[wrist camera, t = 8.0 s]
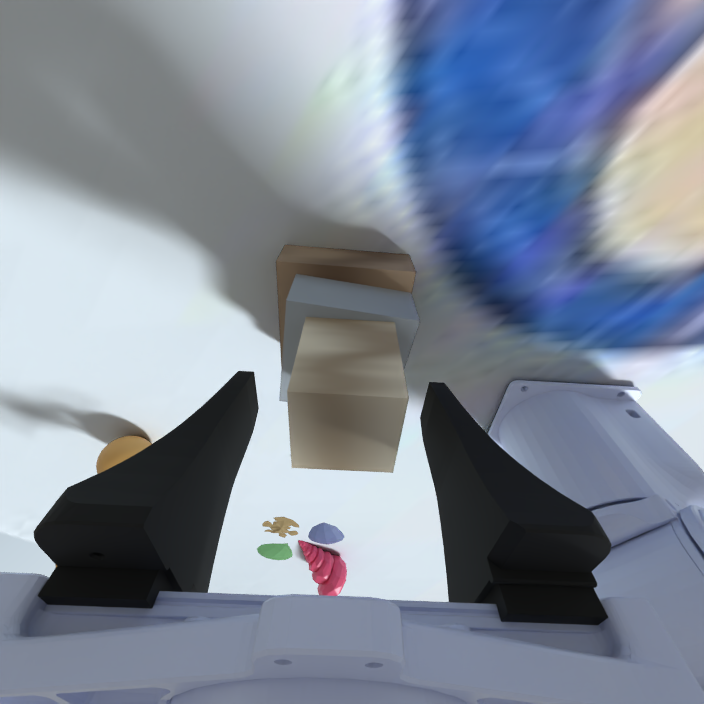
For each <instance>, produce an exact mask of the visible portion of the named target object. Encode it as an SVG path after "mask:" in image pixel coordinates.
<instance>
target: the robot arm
mask: <svg viewBox="0 0 704 704" xmlns="http://www.w3.org/2000/svg"><path fill="white" fill-rule="evenodd" d="M524 386H525V387H524ZM522 387H524V388H522ZM641 394H642V392H641V391H640V390H639V389H638V388H637V387H628V386H611V385H594V384H576V383H559V382H542V381H525V380H515V381H512V382H511V383H510V384H509V386H508V388H507V390H506V393H505V395H504V397H503V400H502V402H501V404H500V406H499V409H498V411H497V413H496V416H495V418H494V420H493V423H492V425H491V427H490V430H489V432H488V434H487V433H486V432H485V431H484V430H483V429H482V428H481V427H480V426H479V425H478V424H477V423H476V421H475V420H474V419H473V418H472V417H471V416H470V414H469V413H468V412H467V411H466V410H465V409H464V407H463V406H462V405H461V404H460V402H459V401H458V400H457V399H456V397H455V396H454V395H453V394H452V392H451V391H450V390H449V388H448V387H447V386H446V385H445V384H444V383H437V382H429V386H428V389H427V393H426V397H425V401H424V405H423V409H422V413H421V417H420V419H421V428H422V436H423V442H424V446H425V450H426V455H427V459H428V463H429V467H430V470H431V474H432V478H433V482H434V486H435V491H436V496H437V501H438V508H439V515H440V522H441V530H442V538H443V545H444V555H445V564H446V573H447V584H448V596H449V602H428V601H402V600H385V599H379V598H372V597H350V596H324V595H299V594H291V595H278V596H274V595H248V594H222V593H208V588H209V583H210V578H211V573H212V569H213V564H214V559H215V555H216V551H217V546H218V542H219V537H220V533H221V529H222V525H223V521H224V517H225V513H226V509H227V505H228V502H229V498H230V494H231V490H232V487H233V484H234V481H235V478H236V476H237V473H238V470H239V468H240V465H241V462H242V460H243V457H244V454H245V452H246V449H247V446H248V444H249V441H250V438H251V436H252V433H253V430H254V426H255V422H256V417H257V413H258V409H259V408H258V400H257V392H256V385H255V377H254V372H247V371H238V372H237V373H236V374H235V375H234V376H233V377H232V378H231V379H230V380H229V381H228V382H227V383H226V384H225V385H224V386H223V387H222V388H221V389H220V390H219V391H218V392H217V393H216V394H215V395H214V396H213V397H212V398H211V399H209V400H208V401H207V402H206V403H205V404H204V405H203V406H202V407H201V408H200V409H198V410H197V411H196V412H195V413H194V414H193V415H191V416H190V417H189V418H188V419H187V420H185V421H184V422H183V423H182V424H180V425H179V426H178V427H176V428H175V429H174V430H172V431H171V432H170V433H168V434H167V435H165V436H164V437H162V438H161V439H159V440H158V441H156V442H155V443H153V444H151V445H150V446H148V447H147V448H145V449H143V450H142V451H140V452H139V453H137V454H135V455H133V456H132V457H130V458H128V459H126V460H124V461H123V462H121V463H119V464H117V465H115V466H113V467H111V468H109V469H107V470H105V471H103V472H101V473H99V474H97V475H95V476H93V477H90V478H88V479H86V480H84V481H82V482H80V483H77V484H75V485H73V486H71V487H68V488H67V489H66V490H65V492H64V493H63V494H62V495H61V496H60V498H59V499H58V500H57V501H56V503H55V504H54V505H53V507H52V508H51V509H50V510H49V512H48V513H47V514H46V516H45V517H44V518H43V520H42V521H41V522H40V524H39V525H38V526H37V528H36V529H35V531H34V538H35V541H36V543H37V544H38V546H39V547H40V548H41V549H42V550H43V551H44V552H45V553H46V554H47V555H48V556H49V557H50V559H51V560H52V561H53V562H54V563H55V564H56V565H57V567H56V568H55V570H54V572H53V573H52V575H51V576H50V578H49V577H47V576H44V575H41V574H33V573H7V572H0V704H704V472H703V471H702V469H701V468H700V467H699V466H698V465H697V463H696V462H695V461H694V460H693V459H692V458H691V457H690V456H689V455H688V454H687V453H686V452H685V451H684V450H683V449H682V448H681V447H680V446H679V445H678V444H677V443H676V442H675V441H674V440H673V439H672V438H671V437H670V436H669V435H668V434H667V433H666V432H665V431H664V430H663V429H662V428H661V427H660V426H659V425H658V424H657V423H656V422H655V420H654V419H653V418H652V417H651V416H650V415H649V414H648V413H647V412H646V411H645V410H644V409H643V408H642V407H641V406H640V405H639V404H638V403H637V402H636V401H637V400H638V398H639V397H640V396H641Z"/></svg>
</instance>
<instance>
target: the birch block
mask: <svg viewBox="0 0 704 704" xmlns="http://www.w3.org/2000/svg"><path fill="white" fill-rule="evenodd" d="M287 399H288V415H289V431H290V446H291V462H292V468H308V469H329V470H349V471H370V472H391V473H393V469H394V465H395V460H396V455H397V451H398V446H399V441H400V437H401V432H402V427H403V423H404V418H405V413H406V409H407V404H408V399H409V397H408V391H407V386H406V380H405V375H404V370H403V364H402V359H401V353H400V348H399V343H398V337H397V332H396V326H395V322H384V321H368V320H351V319H334V318H318V317H306V318H305V322H304V326H303V330H302V334H301V338H300V342H299V346H298V350H297V354H296V358H295V362H294V366H293V370H292V374H291V378H290V382H289V386H288V390H287Z"/></svg>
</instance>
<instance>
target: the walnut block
mask: <svg viewBox="0 0 704 704" xmlns="http://www.w3.org/2000/svg"><path fill="white" fill-rule="evenodd" d="M276 269H277V288H278V308H279V327H280V346H281V366H282V356H283V341H284V326H285V311H286V299H287V297H288V294H289V291H290V289H291V286H292V283H293V281H294V278H295V275H296V274H300V275H307V276H313V277H319V278H325V279H331V280H337V281H343V282H349V283H355V284H361V285H368V286H374V287H380V288H386V289H392V290H398V291H404V292H410V293H411V294H412V290H413V284H414V279H415V274H416V271H415V268H414V266H413V263H412V261H411V258H410V256H409V255H407V254H395V253H382V252H370V251H357V250H345V249H332V248H320V247H307V246H295V245H285V246H284V248H283V249H282V251H281V253H280V255H279V257H278V259H277V260H276Z"/></svg>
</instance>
